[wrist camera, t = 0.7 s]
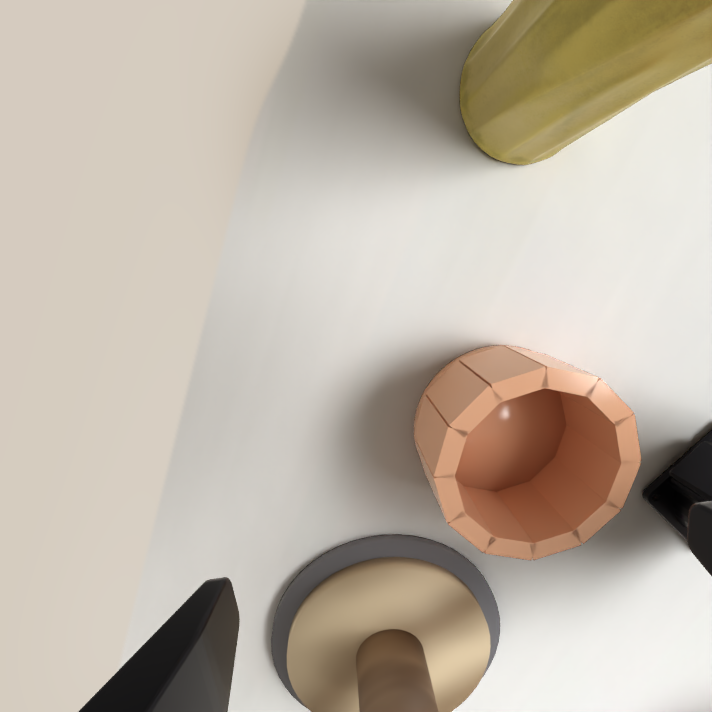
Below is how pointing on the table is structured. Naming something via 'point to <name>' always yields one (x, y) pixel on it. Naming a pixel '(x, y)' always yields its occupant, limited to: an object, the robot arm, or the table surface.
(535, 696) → the table surface
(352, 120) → the table surface
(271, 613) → the table surface
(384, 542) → the mat
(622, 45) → the vase
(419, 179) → the table surface
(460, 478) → the bowl
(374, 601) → the lid
